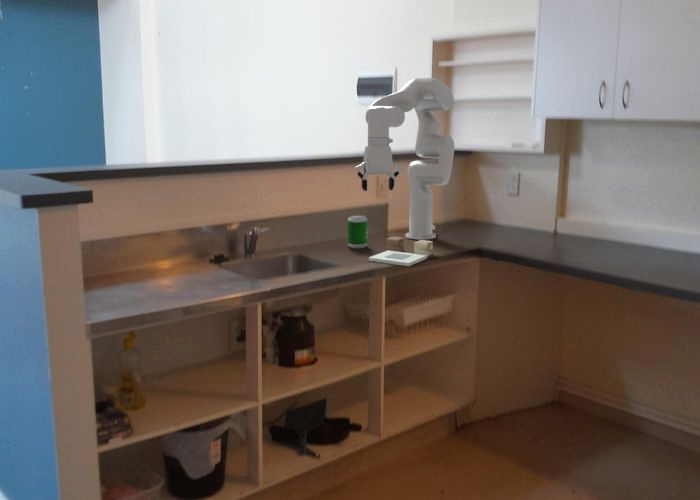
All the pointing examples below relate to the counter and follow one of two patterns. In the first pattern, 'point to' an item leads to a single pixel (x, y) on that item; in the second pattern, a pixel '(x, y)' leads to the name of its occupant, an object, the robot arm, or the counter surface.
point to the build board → (398, 258)
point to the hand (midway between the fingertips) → (377, 190)
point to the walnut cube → (395, 244)
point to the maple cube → (423, 247)
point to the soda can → (357, 231)
